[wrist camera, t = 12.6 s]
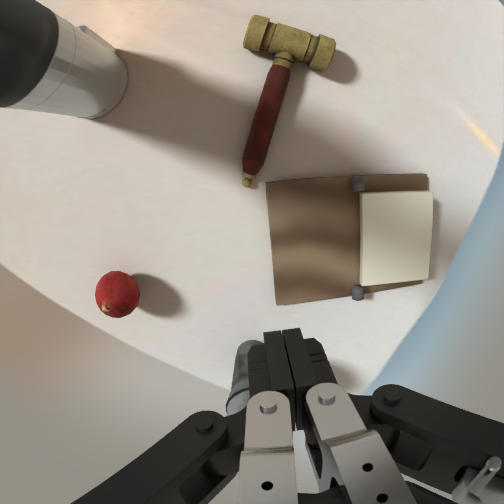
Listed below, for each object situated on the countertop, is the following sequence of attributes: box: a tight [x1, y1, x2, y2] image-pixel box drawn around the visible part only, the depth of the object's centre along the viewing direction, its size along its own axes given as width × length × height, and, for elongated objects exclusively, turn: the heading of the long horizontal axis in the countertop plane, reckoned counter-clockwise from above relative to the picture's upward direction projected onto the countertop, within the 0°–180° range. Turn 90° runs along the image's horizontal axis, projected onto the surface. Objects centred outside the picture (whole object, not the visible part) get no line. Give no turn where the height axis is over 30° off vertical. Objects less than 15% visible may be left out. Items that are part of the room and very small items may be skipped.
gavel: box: [242, 15, 336, 187], centre depth 33 cm, size 21×5×10 cm
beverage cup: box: [226, 340, 263, 416], centre depth 35 cm, size 7×7×20 cm
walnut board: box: [265, 174, 427, 305], centre depth 38 cm, size 16×22×3 cm
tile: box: [360, 191, 433, 286], centre depth 37 cm, size 12×10×1 cm
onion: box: [95, 271, 140, 318], centre depth 36 cm, size 6×6×8 cm
